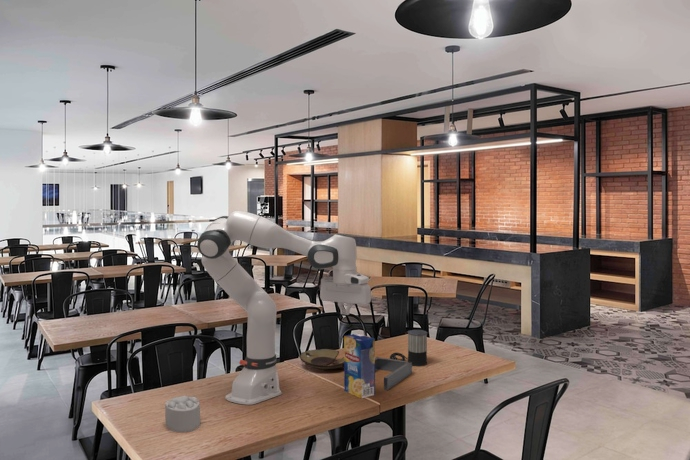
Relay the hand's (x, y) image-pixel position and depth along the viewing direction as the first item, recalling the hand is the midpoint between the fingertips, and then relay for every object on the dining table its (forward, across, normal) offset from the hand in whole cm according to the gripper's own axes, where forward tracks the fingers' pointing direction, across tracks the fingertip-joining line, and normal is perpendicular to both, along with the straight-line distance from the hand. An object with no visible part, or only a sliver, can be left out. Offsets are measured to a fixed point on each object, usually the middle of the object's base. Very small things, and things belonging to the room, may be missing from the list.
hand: (345, 314), depth 202 cm
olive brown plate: (+33, -28, +33) cm, 55 cm away
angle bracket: (+33, 0, +31) cm, 45 cm away
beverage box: (+33, 0, +11) cm, 35 cm away
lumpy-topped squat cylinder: (+33, -37, -45) cm, 67 cm away
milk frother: (+33, +1, +58) cm, 67 cm away
